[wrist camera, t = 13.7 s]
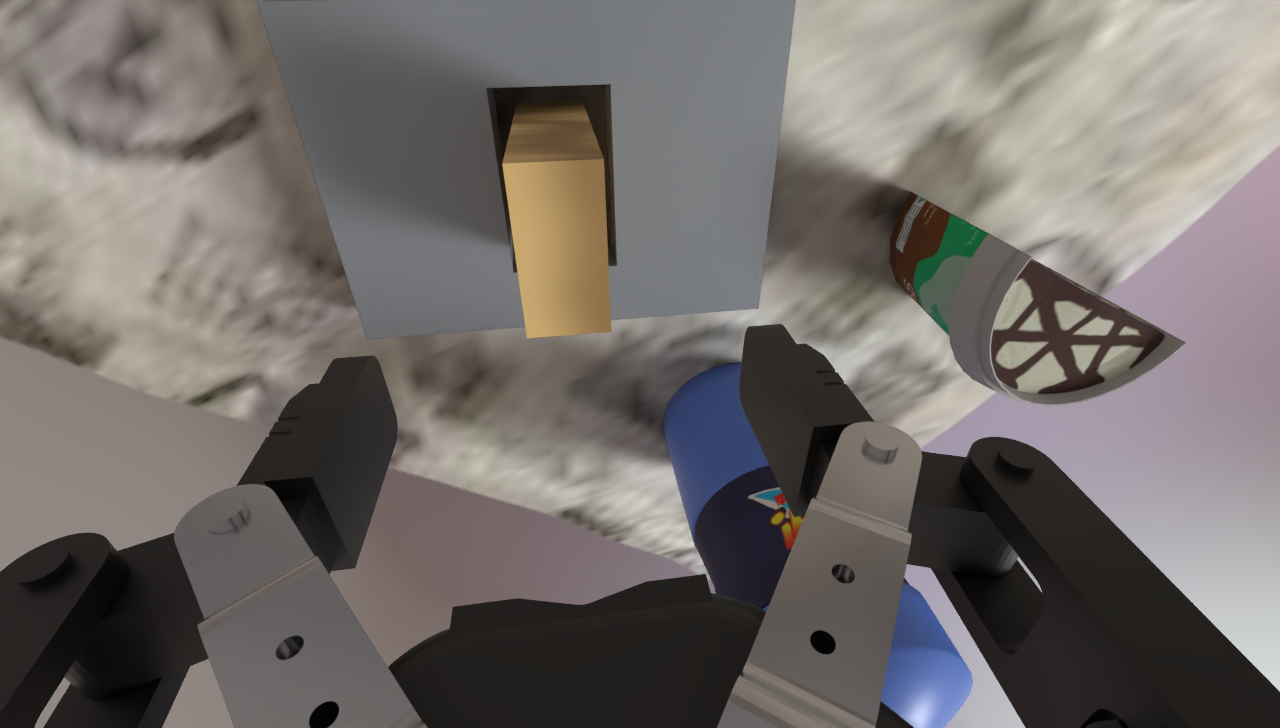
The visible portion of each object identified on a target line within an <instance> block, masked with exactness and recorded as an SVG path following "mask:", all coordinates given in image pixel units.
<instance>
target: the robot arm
mask: <svg viewBox="0 0 1280 728" xmlns="http://www.w3.org/2000/svg"><path fill="white" fill-rule="evenodd" d="M739 392H740V400H741V404H742V408H743V410H744V412H745V414H746V417H747V419H748V421H749V423H750V425H751V427H752V429H753V431H754V434H755V436H756V438H757V440H758V442H759V444H760V446H761V448H762V451H763V453H764V455H765V457H766V459H767V461H768V463H769V465H770V467H771V470H772V472H773V474H774V476H775V478H776V480H777V482H778V484H779V487H780V489H781V491H782V493H783V495H784V497H785V499H786V501H787V504H788V506H789V508H790V510H791V512H792V514H793V516H794V517H799V516H805V517H804V519H803V522H802V524H801V527H800V529H799V532H798V534H797V537H796V539H795V542H794V544H793V547H792V549H791V552H790V554H789V557H788V559H787V562H786V564H785V567H784V569H783V572H782V574H781V577H780V579H779V582H778V584H777V587H776V589H775V592H774V594H773V597H772V599H771V602H770V604H769V607H768V609H767V612H766V611H764V610H763V609H760V608H758V607H756V606H754V605H752V604H750V603H748V602H745V601H742V600H739V599H736V598H733V597H729V596H725V595H720V594H713V593H711V592H710V589H709V585H708V581H707V578H706V574H702V575H695V576H687V577H680V578H672V579H665V580H656V581H648V582H644V583H642V584H639V585H636V586H634V587H631V588H628V589H626V590H623V591H621V592H618V593H615V594H613V595H610V596H607V597H605V598H602V599H600V600H597V601H595V602H592V603H589V604H586V605H573V604H563V603H554V602H545V601H536V600H527V599H510V600H502V601H494V602H487V603H479V604H471V605H465V606H456V607H453V611H452V617H451V624H450V629H447V630H445V631H442V632H440V633H438V634H436V635H434V636H432V637H430V638H428V639H426V640H424V641H422V642H421V643H419V644H418V645H416V646H414V647H413V648H411V649H410V650H408V651H407V652H406V653H404V654H403V655H402V656H400V657H399V658H398V659H397V660H396V661H394V662H393V663H392V664H391V665H390V666H389V667H387V665H386V663H385V662H384V660H383V659H382V657H381V656H380V654H379V653H378V651H377V649H376V648H375V646H374V645H373V643H372V641H371V640H370V638H369V637H368V635H367V634H366V632H365V630H364V629H363V627H362V626H361V624H360V623H359V621H358V619H357V618H356V616H355V615H354V613H353V611H352V610H351V608H350V607H349V605H348V604H347V602H346V600H345V599H344V597H343V596H342V594H341V592H340V591H339V589H338V588H337V586H336V584H335V583H334V581H333V580H332V578H331V577H330V572H331V571H335V570H344V569H351V568H355V567H356V564H357V560H358V557H359V554H360V551H361V548H362V545H363V542H364V539H365V536H366V533H367V530H368V527H369V524H370V521H371V518H372V514H373V512H374V509H375V505H376V502H377V499H378V496H379V493H380V490H381V487H382V484H383V481H384V478H385V475H386V472H387V469H388V466H389V462H390V459H391V456H392V453H393V450H394V447H395V444H396V440H397V431H398V428H397V418H396V413H395V410H394V407H393V404H392V401H391V397H390V394H389V391H388V388H387V385H386V382H385V379H384V376H383V373H382V370H381V367H380V364H379V362H378V360H377V358H376V357H375V356H361V357H348V358H336V359H334V360H333V361H332V362H331V364H330V366H329V367H328V369H327V371H326V373H325V374H324V376H323V378H322V380H321V381H320V383H319V384H309V385H308V386H307V387H305V388H304V389H303V390H302V391H300V392H299V393H298V394H297V395H296V396H294V397H293V398H292V399H291V400H289V402H288V403H287V405H286V406H285V408H284V410H283V411H282V413H281V415H280V416H279V418H278V422H276V423H275V424H274V426H273V428H272V429H271V431H270V432H269V437H266V439H265V441H264V442H263V444H262V445H261V447H260V449H259V450H258V452H257V453H256V455H255V457H254V458H253V460H252V462H251V463H250V465H249V467H248V468H247V470H246V471H245V473H244V475H243V476H242V478H241V480H240V481H239V483H238V484H237V486H235V487H231V488H228V489H225V490H223V491H220V492H218V493H215V494H213V495H211V496H210V497H208V498H206V499H204V500H203V501H201V502H200V503H199V504H197V505H196V506H194V507H193V508H192V509H191V510H190V511H189V512H187V513H186V514H185V516H184V517H183V518H182V519H181V521H180V522H179V523H178V525H177V527H176V530H175V533H173V534H169V535H166V536H163V537H160V538H157V539H154V540H151V541H148V542H145V543H141V544H138V545H135V546H132V547H129V548H126V549H122V550H119V551H117V550H116V549H115V548H114V547H113V546H112V544H111V543H110V542H109V541H108V540H107V538H106V537H104V536H102V535H100V534H96V533H78V534H73V535H68V536H65V537H62V538H58V539H56V540H53V541H50V542H48V543H46V544H43V545H41V546H39V547H37V548H35V549H33V550H31V551H29V552H27V553H26V554H24V555H23V556H21V557H19V558H18V559H16V560H15V561H14V562H12V563H11V564H10V565H8V566H7V567H6V568H5V569H3V570H2V571H1V572H0V728H34V727H35V724H36V722H37V719H38V718H39V716H40V714H41V712H42V711H43V709H44V708H45V706H46V705H47V703H48V701H49V700H50V698H51V697H52V695H53V693H54V692H55V690H56V689H57V687H58V686H59V684H60V683H61V681H62V680H63V678H64V677H65V678H66V679H67V680H68V681H69V682H70V683H71V684H70V686H69V687H68V689H67V691H66V692H65V694H64V695H63V697H62V699H61V700H60V702H59V703H58V705H57V707H56V708H55V710H54V711H53V713H52V715H51V716H50V718H49V719H48V721H47V723H46V724H45V726H44V728H162V726H163V724H164V722H165V720H166V718H167V715H168V713H169V711H170V709H171V706H172V704H173V702H174V700H175V698H176V696H177V694H178V691H179V689H180V687H181V685H182V683H183V681H184V678H185V676H186V674H187V672H188V670H189V668H190V666H191V665H194V664H196V663H199V662H201V661H204V660H206V659H209V660H210V663H211V666H212V668H213V671H214V674H215V677H216V679H217V682H218V685H219V687H220V690H221V693H222V695H223V698H224V701H225V703H226V706H227V709H228V712H229V714H230V717H231V720H232V722H233V725H234V728H914V727H913V726H912V725H910V724H909V723H908V722H907V721H905V720H904V719H903V718H902V717H900V716H899V715H898V714H897V713H895V712H894V711H893V710H892V709H890V708H889V707H888V706H886V705H885V704H884V703H883V702H881V696H882V691H883V685H884V680H885V675H886V670H887V664H888V659H889V654H890V649H891V643H892V638H893V633H894V628H895V622H896V617H897V612H898V607H899V601H900V596H901V591H902V586H903V580H904V575H905V570H906V565H907V564H910V565H917V566H922V567H929V568H931V569H932V571H933V572H934V574H935V576H936V577H937V579H938V581H939V583H940V584H941V586H942V588H943V589H944V591H945V592H946V594H947V596H948V598H949V599H950V601H951V603H952V604H953V606H954V608H955V609H956V611H957V613H958V614H959V616H960V618H961V620H962V621H963V623H964V625H965V626H966V628H967V630H968V631H969V633H970V635H971V636H972V638H973V640H974V641H975V643H976V645H977V647H978V648H979V650H980V652H981V653H982V655H983V657H984V658H985V660H986V662H987V663H988V665H989V667H990V668H991V670H992V672H993V673H994V675H995V677H996V678H997V680H998V682H999V684H1000V685H1001V687H1002V688H1003V690H1004V692H1005V694H1006V695H1007V697H1008V699H1009V700H1010V702H1011V704H1012V705H1013V707H1014V709H1015V711H1016V712H1017V714H1018V716H1019V717H1020V719H1021V721H1022V722H1023V724H1024V726H1025V727H1026V728H1280V692H1279V691H1278V690H1277V689H1276V688H1275V687H1274V685H1272V684H1271V682H1270V681H1269V680H1268V679H1267V678H1266V677H1265V676H1263V674H1262V673H1261V672H1260V671H1259V670H1258V669H1257V668H1256V667H1255V666H1254V665H1253V664H1252V663H1251V662H1250V661H1249V660H1248V659H1247V658H1246V657H1245V656H1244V655H1243V654H1242V653H1241V652H1240V651H1239V650H1238V649H1237V648H1236V647H1235V646H1234V645H1233V644H1232V643H1231V642H1230V641H1229V640H1228V639H1227V638H1226V637H1225V636H1224V635H1223V634H1222V633H1221V632H1220V631H1219V630H1218V629H1217V628H1216V627H1215V626H1214V625H1213V624H1212V623H1211V621H1210V620H1209V619H1208V618H1207V617H1206V616H1205V615H1204V614H1203V613H1202V612H1201V611H1200V610H1199V609H1198V608H1197V607H1196V606H1194V604H1193V603H1192V602H1191V601H1190V600H1189V599H1188V598H1187V597H1186V596H1185V595H1184V594H1183V593H1182V592H1181V591H1180V590H1179V589H1178V588H1177V587H1176V586H1175V585H1174V584H1173V583H1172V582H1171V581H1170V580H1169V579H1168V578H1167V577H1166V576H1165V575H1164V574H1163V573H1162V572H1161V571H1160V570H1159V569H1158V568H1157V567H1156V566H1155V565H1154V564H1153V563H1152V562H1151V561H1150V560H1149V559H1148V557H1147V556H1146V555H1144V554H1143V553H1142V551H1141V550H1140V549H1139V548H1138V547H1137V546H1136V545H1135V544H1134V543H1133V542H1132V541H1131V540H1130V539H1129V538H1128V537H1127V536H1126V535H1125V534H1124V533H1123V532H1122V531H1121V530H1120V529H1119V528H1118V527H1117V526H1116V525H1115V524H1114V523H1113V522H1112V521H1111V520H1110V519H1109V518H1108V517H1107V516H1106V515H1105V514H1104V513H1103V512H1102V511H1101V510H1100V509H1099V508H1098V507H1097V506H1096V505H1095V504H1094V503H1093V502H1092V501H1091V500H1090V499H1089V498H1088V497H1087V496H1086V495H1085V493H1083V491H1081V489H1079V487H1078V486H1077V485H1076V484H1075V483H1074V482H1072V480H1071V479H1070V478H1069V477H1068V476H1067V475H1066V474H1065V473H1064V472H1063V471H1062V470H1061V469H1060V468H1059V467H1058V466H1057V465H1056V464H1055V463H1054V462H1053V461H1052V460H1051V459H1050V458H1049V457H1047V456H1046V455H1045V454H1043V453H1042V452H1040V451H1039V450H1037V449H1035V448H1033V447H1031V446H1029V445H1027V444H1025V443H1022V442H1019V441H1016V440H1012V439H1008V438H1002V437H987V438H983V439H979V440H977V441H975V442H974V443H973V444H972V446H971V448H970V450H969V452H968V455H967V457H960V456H952V455H943V454H936V453H929V452H923V451H921V449H920V447H919V446H918V444H917V443H916V442H915V441H914V440H913V439H912V438H911V437H910V436H909V435H908V434H906V433H905V432H903V431H901V430H899V429H897V428H895V427H893V426H890V425H887V424H883V423H878V422H874V420H873V419H872V418H871V416H870V415H869V414H868V412H867V411H866V410H865V409H864V407H863V406H862V405H861V403H860V402H859V401H858V399H857V398H856V397H855V395H854V394H853V393H852V391H851V390H850V389H849V387H848V386H847V385H846V384H844V381H843V380H842V378H841V377H840V376H839V374H838V373H837V372H836V373H835V369H834V368H833V366H832V365H831V364H830V362H829V361H828V360H827V359H826V357H825V356H824V355H823V354H821V353H820V352H818V351H816V350H815V349H813V348H812V347H810V346H809V345H807V344H796V343H795V341H794V340H793V338H792V337H791V336H790V334H789V333H788V331H787V330H786V328H785V327H784V326H783V325H782V324H775V325H763V326H750V327H748V328H747V330H746V333H745V338H744V347H743V356H742V365H741V373H740V383H739ZM1018 556H1019V557H1020V559H1021V560H1022V561H1023V562H1024V564H1025V565H1026V566H1027V568H1028V569H1029V571H1030V572H1031V573H1032V574H1033V576H1034V577H1035V578H1036V580H1037V581H1038V583H1039V585H1040V587H1041V590H1042V592H1041V591H1040V590H1039V589H1038V587H1037V586H1036V585H1035V583H1034V582H1033V581H1032V579H1031V578H1030V577H1029V575H1028V574H1027V573H1026V571H1025V570H1024V569H1023V567H1022V566H1021V565H1020V563H1019V562H1018V561H1017V558H1018ZM1042 593H1043V594H1042Z"/></svg>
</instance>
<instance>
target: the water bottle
mask: <svg viewBox="0 0 1280 728" xmlns="http://www.w3.org/2000/svg"><path fill="white" fill-rule="evenodd" d="M741 365H742V363H733V364H725V365H721V366H718V367H714V368H711V369H709V370H707V371H704V372H702V373H700V374H698V375H697V376H695V377H694V378H692V379H691V380H689V381H688V382H687V383H686V384H684V385H683V386H682V387H681V388H680V389H679V390H678V391H677V392H676V394H675V395H674V396H673V398H672V399H671V401H670V403H669V405H668V407H667V409H666V411H665V415H664V419H663V433H664V436H665V440H666V444H667V447H668V451H669V455H670V458H671V462H672V466H673V469H674V473H675V477H676V480H677V484H678V488H679V491H680V495H681V499H682V502H683V506H684V509H685V513H686V516H687V520H688V523H689V527H690V530H691V534H692V537H693V541H694V544H695V547H696V548H697V550H698V552H699V554H700V556H701V558H702V560H703V563H704V565H705V567H706V569H707V571H708V574H709V576H710V578H711V580H712V582H713V585H714V587H715V592H716V594H720V595H725V596H729V597H733V598H736V599H739V600H742V601H745V602H748V603H750V604H752V605H754V606H756V607H758V608H760V609H763V610H764V611H766V612H767V609H768V607H769V604H770V602H771V599H772V597H773V594H774V592H775V589H776V587H777V584H778V582H779V579H780V577H781V574H782V572H783V569H784V567H785V564H786V562H787V559H788V557H789V554H790V552H791V549H792V547H793V544H794V542H795V539H796V537H797V534H798V532H799V529H800V527H801V524H802V522H803V519H804V517H805V516H799V517H794V516H793V514H792V512H791V510H790V508H789V506H788V504H787V501H786V499H785V497H784V495H783V493H782V491H781V489H780V487H779V484H778V482H777V480H776V478H775V476H774V474H773V472H772V470H771V467H770V465H769V463H768V461H767V459H766V457H765V455H764V453H763V451H762V448H761V446H760V444H759V442H758V440H757V438H756V436H755V434H754V431H753V429H752V427H751V425H750V423H749V421H748V419H747V417H746V414H745V412H744V410H743V408H742V404H741V400H740V392H739V383H740V373H741ZM972 683H973V681H972V675H971V671H970V670H969V668H968V667H967V665H966V663H965V662H964V660H963V659H962V657H961V656H960V654H959V652H958V651H957V649H956V648H955V646H954V645H953V643H952V641H951V640H950V638H949V637H948V635H947V633H946V632H945V630H944V629H943V627H942V625H941V624H940V622H939V621H938V619H937V617H936V616H935V614H934V613H933V611H932V610H931V608H930V606H929V605H928V603H927V602H926V600H925V599H924V597H923V596H922V595H921V593H920V592H919V591H918V590H916V589H915V588H913V587H912V586H910V585H909V583H908V582H907V581H906V579H905V578H904V580H903V586H902V591H901V596H900V601H899V607H898V612H897V617H896V622H895V628H894V633H893V638H892V643H891V649H890V654H889V659H888V664H887V670H886V675H885V680H884V685H883V691H882V696H881V702H883V703H884V704H885V705H886V706H888V707H889V708H890V709H892V710H893V711H894V712H895V713H897V714H898V715H899V716H900V717H902V718H903V719H904V720H905V721H907V722H908V723H909V724H910V725H912V726H913V727H914V728H944V727H945V726H946V725H947V724H948V722H949V721H950V720H951V719H952V717H953V716H954V715H955V714H956V713H957V711H958V710H959V709H960V708H961V706H962V705H963V704H964V702H965V700H966V699H967V697H968V696H969V694H970V691H971V687H972Z"/></svg>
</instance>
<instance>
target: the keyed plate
mask: <svg viewBox="0 0 1280 728" xmlns="http://www.w3.org/2000/svg"><path fill="white" fill-rule="evenodd" d="M795 3H796V0H281V1H257V4H258V7H259V10H260V13H261V16H262V19H263V22H264V25H265V28H266V31H267V34H268V37H269V41H270V44H271V47H272V50H273V53H274V56H275V59H276V62H277V65H278V68H279V71H280V74H281V77H282V80H283V83H284V86H285V89H286V93H287V96H288V99H289V102H290V105H291V108H292V111H293V114H294V117H295V120H296V123H297V126H298V129H299V132H300V135H301V138H302V141H303V145H304V148H305V151H306V154H307V157H308V160H309V163H310V166H311V169H312V172H313V175H314V178H315V181H316V184H317V187H318V190H319V193H320V197H321V200H322V203H323V206H324V209H325V212H326V215H327V218H328V221H329V224H330V227H331V230H332V233H333V236H334V239H335V242H336V246H337V249H338V252H339V255H340V258H341V261H342V264H343V267H344V270H345V273H346V276H347V279H348V282H349V285H350V288H351V291H352V294H353V298H354V301H355V304H356V307H357V310H358V313H359V316H360V319H361V322H362V325H363V328H364V331H365V334H366V337H367V339H378V338H390V337H403V336H416V335H428V334H441V333H454V332H466V331H479V330H492V329H504V328H517V327H525V321H524V314H523V307H522V300H521V293H520V286H519V279H518V271H517V264H516V257H515V250H514V243H513V236H512V229H511V222H510V215H509V208H508V200H507V193H506V186H505V179H504V172H503V165H502V163H503V155H502V148H501V140H500V133H499V126H498V119H497V112H496V105H495V98H494V91H493V88H506V87H539V86H571V85H604V86H605V111H606V135H607V160H608V185H609V209H610V234H611V243H608V266H609V290H610V313H611V320H619V319H631V318H644V317H657V316H669V315H682V314H695V313H707V312H720V311H733V310H745V309H758V308H759V300H760V291H761V283H762V275H763V267H764V258H765V250H766V242H767V234H768V225H769V217H770V209H771V201H772V192H773V184H774V176H775V168H776V159H777V151H778V143H779V135H780V126H781V118H782V110H783V102H784V93H785V85H786V77H787V69H788V60H789V52H790V44H791V36H792V27H793V19H794V11H795Z"/></svg>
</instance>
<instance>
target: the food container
mask: <svg viewBox="0 0 1280 728" xmlns="http://www.w3.org/2000/svg"><path fill="white" fill-rule="evenodd" d="M890 264H891V267H892V270H893V273H894V276H895V279H896V281H897V282H898V283H899V284H900V285H901V286H902V288H903V289H904V290H905V291H906V292H907V293H908V294H909V295H910V296H911V297H912V298H913V299H914V300H915V301H916V302H917V303H918V304H919V305H920V306H921V307H922V308H923V309H924V310H925V311H926V313H927V314H928V315H929V316H930V317H931V318H932V319H933V320H934V321H935V322H936V323H937V324H938V325H939V326H940V327H941V328H942V329H943V330H944V331H945V332H946V333H947V334H948V335H949V336H950V344H951V348H952V351H953V353H954V356H955V359H956V361H957V362H958V364H959V365H960V367H961V368H962V370H963V371H964V372H965V373H966V374H968V375H969V376H970V377H971V378H972V379H973V380H975V381H977V382H979V383H981V384H983V385H984V386H986V387H988V388H990V389H992V390H994V391H996V392H998V393H1000V394H1002V395H1004V396H1006V397H1008V398H1012V399H1015V400H1018V401H1023V402H1027V403H1030V404H1034V405H1043V406H1060V405H1069V404H1075V403H1080V402H1084V401H1088V400H1091V399H1095V398H1098V397H1101V396H1103V395H1106V394H1108V393H1111V392H1113V391H1116V390H1118V389H1120V388H1122V387H1124V386H1126V385H1128V384H1130V383H1132V382H1134V381H1136V380H1137V379H1139V378H1140V377H1142V376H1144V375H1145V374H1147V373H1149V372H1150V371H1152V370H1154V369H1155V368H1156V367H1158V366H1159V365H1160V364H1162V363H1163V362H1165V361H1166V360H1167V359H1169V358H1170V357H1171V356H1172V355H1174V354H1175V353H1176V352H1177V351H1178V350H1179V349H1181V348H1182V347H1183V346H1184V345H1185V344H1187V343H1185V342H1183V341H1182V340H1180V339H1178V338H1176V337H1174V336H1173V335H1171V334H1169V333H1167V332H1165V331H1164V330H1161V329H1160V328H1158V327H1156V326H1154V325H1152V324H1151V323H1149V322H1147V321H1145V320H1143V319H1141V318H1140V317H1138V316H1136V315H1134V314H1132V313H1130V312H1129V311H1127V310H1125V309H1123V308H1121V307H1119V306H1118V305H1116V304H1114V303H1112V302H1110V301H1108V300H1107V299H1105V298H1103V297H1101V296H1099V295H1097V294H1096V293H1094V292H1092V291H1090V290H1088V289H1086V288H1085V287H1083V286H1081V285H1079V284H1078V283H1075V282H1074V281H1072V280H1070V279H1068V278H1066V277H1065V276H1063V275H1061V274H1059V273H1057V272H1055V271H1053V270H1052V269H1050V268H1048V267H1046V266H1044V265H1042V264H1041V263H1039V262H1037V261H1035V260H1033V259H1032V257H1031V256H1029V255H1027V254H1026V253H1024V252H1022V251H1020V250H1018V249H1016V248H1015V247H1013V246H1011V245H1009V244H1007V243H1005V242H1004V241H1002V240H1000V239H998V238H996V237H994V236H992V235H991V234H989V233H987V232H985V231H983V230H981V229H979V228H977V227H975V226H974V225H972V224H970V223H968V222H966V221H964V220H962V219H961V218H959V217H957V216H955V215H953V214H951V213H949V212H948V211H946V210H944V209H942V208H940V207H938V206H936V205H935V204H933V203H931V202H929V201H927V200H925V199H923V198H922V197H920V196H918V195H916V194H914V193H912V192H911V194H910V196H909V197H908V199H907V200H906V202H905V204H904V205H903V207H902V209H901V210H900V212H899V215H898V218H897V221H896V224H895V227H894V229H893V232H892V235H891V239H890Z"/></svg>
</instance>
